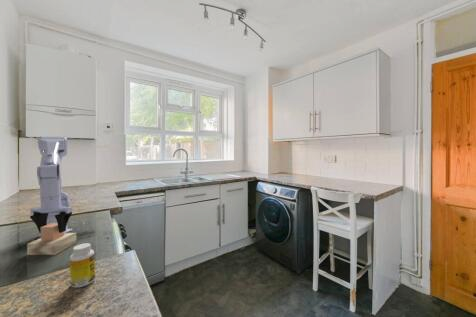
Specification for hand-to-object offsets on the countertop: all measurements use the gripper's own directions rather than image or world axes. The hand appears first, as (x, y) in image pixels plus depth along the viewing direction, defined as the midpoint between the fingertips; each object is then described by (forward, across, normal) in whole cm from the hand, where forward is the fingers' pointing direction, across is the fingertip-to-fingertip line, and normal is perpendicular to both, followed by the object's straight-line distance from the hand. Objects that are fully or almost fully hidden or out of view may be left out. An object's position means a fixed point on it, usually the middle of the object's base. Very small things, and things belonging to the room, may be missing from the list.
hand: (52, 231), depth 81 cm
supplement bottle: (+7, +28, -21) cm, 36 cm away
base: (+6, 0, 0) cm, 6 cm away
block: (+2, 0, 0) cm, 2 cm away
